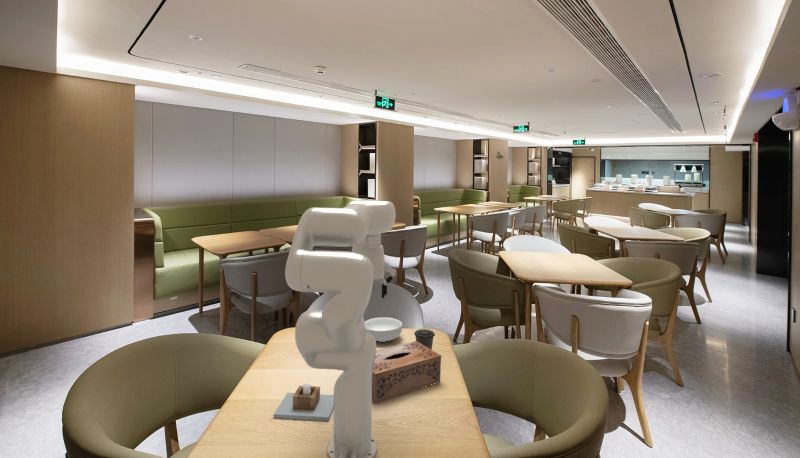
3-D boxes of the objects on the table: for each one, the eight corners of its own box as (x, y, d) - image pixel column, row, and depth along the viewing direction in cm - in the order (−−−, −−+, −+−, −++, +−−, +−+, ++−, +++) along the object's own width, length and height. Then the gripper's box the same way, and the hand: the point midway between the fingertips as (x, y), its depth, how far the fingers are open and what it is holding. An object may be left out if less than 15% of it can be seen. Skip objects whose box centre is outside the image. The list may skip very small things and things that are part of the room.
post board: (328, 421, 118) (328, 397, 117) (273, 418, 119) (273, 394, 118) (337, 398, 130) (337, 377, 129) (287, 396, 131) (287, 374, 130)
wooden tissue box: (314, 410, 121) (314, 397, 121) (292, 409, 122) (292, 396, 121) (319, 398, 128) (319, 386, 127) (299, 397, 128) (299, 385, 128)
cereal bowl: (386, 329, 191) (386, 314, 190) (409, 340, 178) (410, 324, 177) (355, 337, 180) (355, 322, 179) (378, 350, 167) (378, 333, 166)
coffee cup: (433, 360, 159) (434, 335, 157) (412, 358, 160) (413, 334, 159) (434, 352, 167) (435, 328, 165) (414, 350, 168) (415, 326, 167)
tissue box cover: (415, 366, 154) (416, 341, 153) (440, 383, 142) (441, 355, 141) (353, 384, 140) (353, 356, 139) (374, 404, 128) (375, 373, 127)
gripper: (337, 242, 121) (337, 298, 123) (396, 243, 120) (394, 301, 122) (342, 238, 129) (342, 291, 131) (397, 239, 128) (396, 294, 130)
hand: (367, 296), depth 127 cm, fingers open, 9 cm apart
